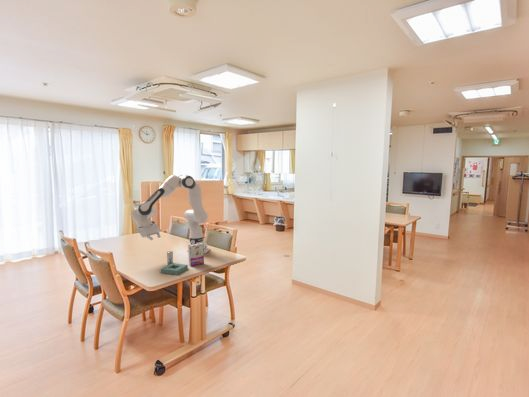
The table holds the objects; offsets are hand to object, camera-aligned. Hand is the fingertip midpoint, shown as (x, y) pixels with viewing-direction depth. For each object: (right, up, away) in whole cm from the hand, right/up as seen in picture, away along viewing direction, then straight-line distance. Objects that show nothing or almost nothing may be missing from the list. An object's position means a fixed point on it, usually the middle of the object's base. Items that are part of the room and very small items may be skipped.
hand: (156, 238), depth 239 cm
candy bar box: (+33, -21, -1) cm, 39 cm away
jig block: (+20, -22, -16) cm, 34 cm away
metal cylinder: (+12, -20, -1) cm, 24 cm away
